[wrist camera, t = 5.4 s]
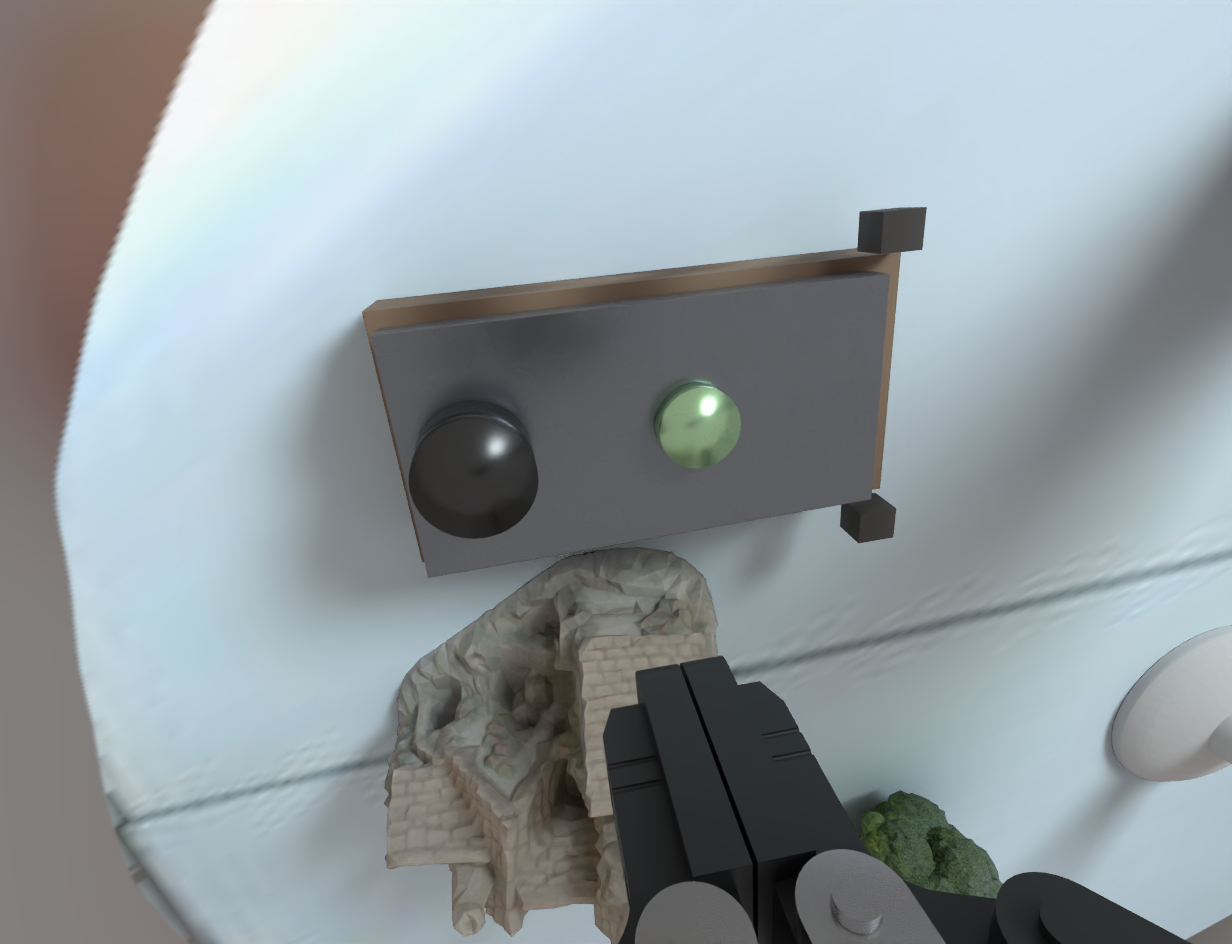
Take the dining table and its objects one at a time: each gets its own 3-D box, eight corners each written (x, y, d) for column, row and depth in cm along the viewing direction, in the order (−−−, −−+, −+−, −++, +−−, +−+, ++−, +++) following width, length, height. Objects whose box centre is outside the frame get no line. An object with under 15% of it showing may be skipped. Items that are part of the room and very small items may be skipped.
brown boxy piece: (862, 207, 26) (931, 207, 22) (843, 493, 31) (897, 536, 27) (367, 256, 24) (339, 267, 20) (436, 558, 29) (426, 617, 25)
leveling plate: (866, 270, 24) (933, 280, 20) (851, 485, 28) (906, 525, 24) (377, 327, 21) (357, 351, 18) (431, 557, 25) (423, 615, 21)
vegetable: (725, 815, 36) (1032, 838, 30) (763, 764, 47) (990, 774, 42) (744, 1069, 33) (1085, 1143, 28) (779, 948, 45) (1025, 984, 39)
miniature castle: (748, 565, 32) (899, 841, 18) (652, 793, 38) (711, 1131, 24) (437, 501, 29) (339, 777, 15) (385, 761, 35) (281, 1127, 21)
